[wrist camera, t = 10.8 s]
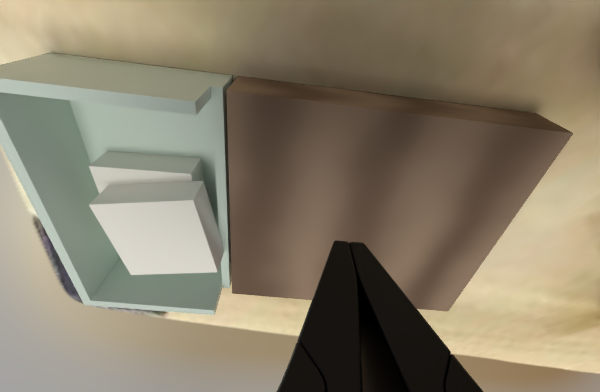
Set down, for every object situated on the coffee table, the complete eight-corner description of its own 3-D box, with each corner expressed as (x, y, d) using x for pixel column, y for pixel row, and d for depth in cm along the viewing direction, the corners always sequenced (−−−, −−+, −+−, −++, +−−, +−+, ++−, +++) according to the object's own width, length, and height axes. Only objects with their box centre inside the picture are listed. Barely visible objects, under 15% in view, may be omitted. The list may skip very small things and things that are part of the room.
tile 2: (203, 180, 18) (193, 200, 16) (224, 250, 21) (217, 272, 20) (108, 185, 18) (88, 204, 16) (144, 253, 21) (131, 275, 20)
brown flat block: (536, 113, 18) (573, 133, 15) (435, 282, 27) (448, 311, 24) (237, 76, 17) (226, 91, 14) (239, 264, 26) (232, 293, 23)
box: (232, 75, 17) (209, 103, 13) (235, 264, 26) (222, 315, 22) (50, 52, 16) (-36, 73, 12) (119, 253, 25) (84, 304, 21)
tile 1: (200, 158, 19) (191, 173, 17) (209, 227, 23) (202, 245, 21) (107, 150, 19) (88, 165, 17) (130, 221, 22) (117, 239, 21)
